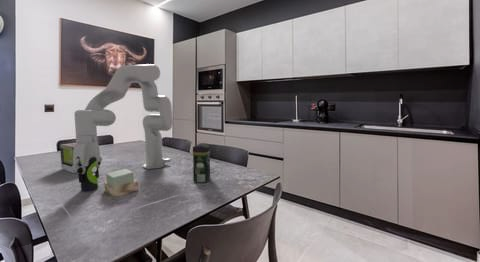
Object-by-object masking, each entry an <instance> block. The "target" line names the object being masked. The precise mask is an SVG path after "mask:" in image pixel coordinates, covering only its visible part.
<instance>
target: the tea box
mask: <svg viewBox="0 0 480 262" xmlns="http://www.w3.org/2000/svg"><path fill="white" fill-rule="evenodd" d="M75 143H76V142H72V143H61V144H60V145H59V148H60V162H61V163H60V165H61V170H63V171H66V172H69V173H72V174H77V172H76V171H75V170H74V169H72V166H73V164H74V163H73V153H74V145H75Z"/></svg>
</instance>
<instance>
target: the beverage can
mask: <svg viewBox="0 0 480 262" xmlns="http://www.w3.org/2000/svg"><path fill="white" fill-rule="evenodd" d="M81 166H82V164H81ZM82 169H83V168H81V170H82ZM85 173H86V177H87V182H86V183H80V191H82V192H86V193H87V192H93V191H96V190H97V189H98V188H99V181H98V177H97V160H96V157H95V156H94V157H90V159H89V163H88V166H87V167H86V170H85Z"/></svg>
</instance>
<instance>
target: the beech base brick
mask: <svg viewBox="0 0 480 262" xmlns="http://www.w3.org/2000/svg"><path fill="white" fill-rule="evenodd" d="M103 185H104V190H105V192H106V193H107V194H109V195H110V196H112V197H113V198H116V197H119V196H123V195H127V194H130V193H133V192H136V191H139V182H138V180H137V179H135V178H134V181H133V182H130V183H126V184H123V185H120V186H116V187H113V186H112V185H110V184H109V183H107V181H106V182H104V183H103Z"/></svg>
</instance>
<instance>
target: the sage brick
mask: <svg viewBox="0 0 480 262" xmlns="http://www.w3.org/2000/svg"><path fill="white" fill-rule="evenodd" d="M105 175H106V182H107V183H109V184H110V185H112V186H113V187H116V186H120V185H123V184H126V183H130V182H133V181H134V179H135V177H134V172H133V171H132V170H129V169H127V168H123V169H118V170H114V171H111V172H108V173H106V174H105Z"/></svg>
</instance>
